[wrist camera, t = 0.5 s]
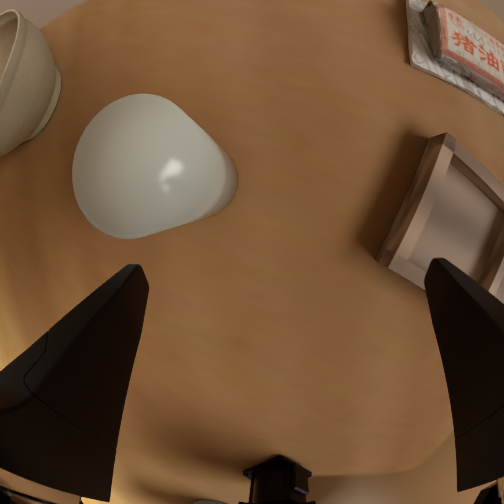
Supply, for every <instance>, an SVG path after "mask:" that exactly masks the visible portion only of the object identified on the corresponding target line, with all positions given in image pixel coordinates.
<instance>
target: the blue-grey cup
mask: <svg viewBox="0 0 504 504" xmlns="http://www.w3.org/2000/svg"><path fill="white" fill-rule="evenodd" d="M192 504H227V503H223V502H219V501H212V500H199V501H195V502H193V503H192Z"/></svg>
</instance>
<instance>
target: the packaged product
mask: <svg viewBox="0 0 504 504" xmlns="http://www.w3.org/2000/svg"><path fill="white" fill-rule="evenodd" d="M406 12H407V24H408V48H409V57H410V65H411V66H413V67H415V68H417V69H419V70H422V71H424V72H426V73H428V74H431V75H433V76H435V77H438V78H440V79H442V80H445V81H447V82H448V83H450V84H452V85H454V86H456V87H458V88H460V89H461V90H463V91H465V92H467V93H468V94H470V95H472V96H473V97H475V98H477V99H478V100H480V101H481V102H483V103H484V104H486V105H487V106H489V107H491V108H492V109H493V110H495V111H497V112H499V113H501V114H502V115H504V43H503V42H502V41H500V40H499V39H498V38H496V37H495V36H493V35H492V34H491V33H489V32H488V31H486V30H485V29H483V28H482V27H480V26H479V25H477V24H475V23H474V22H472V21H471V20H469V19H467V18H466V17H464V16H463V15H461V14H459V13H457V12H455V11H454V10H452V9H451V8H449V7H447V6H445V5H443V4H442V3H439V2H437V1H431V0H430V1H429V2H428V3H425V2H423V1H420V0H406Z"/></svg>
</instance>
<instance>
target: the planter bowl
mask: <svg viewBox="0 0 504 504" xmlns="http://www.w3.org/2000/svg"><path fill="white" fill-rule="evenodd" d="M60 90H61V75H60V72H59V70H58V68H57V67H56V66H55V63H54V58H53V54H52V51H51V49H50V46H49V44H48V42H47V40H46V38H45V37H44V35H43V34H42V32H41V31H40V30H39V29H38V28H37V27H36V26H35V25H34V24H33V23H32V22H30V21H29V20H27V19H25V18H24V16H23V15H22V14H21V13H20V12H18V11H17V10H14V9H11V10H7V11H5V12H3V13H1V14H0V157H1V156H3V155H5V154H6V153H8V152H10V151H11V150H13V149H14V148H16V147H17V146H18V145H20V144H21V143H22V142H24V141H28V140H30V139H32V138H34V137H35V136H36V135H37V134H38V133H39V132H40V131H41V130H42V129H43V128H44V126H45V125H46V124H47V122H48V121H49V119H50V117H51V115H52V113H53V111H54V109H55V107H56V104H57V101H58V98H59V94H60Z"/></svg>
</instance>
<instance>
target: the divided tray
mask: <svg viewBox="0 0 504 504" xmlns="http://www.w3.org/2000/svg"><path fill="white" fill-rule="evenodd" d="M440 257H442V258H445V259H447V260H448V261H449V262H451V263H452V264H454V265H455V266H456V267H458V268H459V269H460V270H462V271H463V272H464V273H466V274H467V275H468V276H470V277H471V278H472V279H474V280H475V281H476V282H477V283H479V284H480V285H481V286H483V287H484V288H485V289H486V290H488V291H489V292H490V293H491V294H492V295H494V296H495V297H496V298H497V299H499V300H500V301H501V302H502V303H503V304H504V187H503V186H502V185H501V183H500V182H499V181H498V180H497V179H496V178H495V177H494V176H493V175H492V174H491V173H490V172H489V171H488V170H487V169H486V168H485V167H484V166H483V165H482V164H481V163H480V162H479V161H478V160H477V159H476V158H475V157H474V156H473V155H472V154H471V153H470V152H469V151H468V150H467V149H465V148H464V147H463V146H462V145H461V144H460V143H459V142H458V141H456V140H455V139H454V138H453V137H452V136H451V135H449V134H448V133H447V132H446V133H443V134H440V135H437V136H434V137H431V138H429V140H428V143H427V145H426V148H425V151H424V153H423V156H422V159H421V161H420V164H419V166H418V169H417V171H416V173H415V176H414V178H413V181H412V183H411V185H410V188H409V190H408V192H407V194H406V197H405V199H404V201H403V203H402V206H401V208H400V210H399V212H398V214H397V216H396V218H395V220H394V222H393V225H392V227H391V229H390V231H389V233H388V235H387V237H386V239H385V241H384V243H383V244H382V246H381V248H380V250H379V252H378V254H377V256H376V258H375V260H377V261H378V262H380V263H381V264H383V265H385V266H386V267H388V268H389V269H391V270H393V271H394V272H396V273H398V274H399V275H401V276H403V277H404V278H406V279H408V280H409V281H411V282H413V283H414V284H416V285H418V286H419V287H421V288H422V289H424V290H425V286H424V277H425V275H426V272H427V270H428V267H429V265H430V262H431V260H432V259H433V258H440Z"/></svg>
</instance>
